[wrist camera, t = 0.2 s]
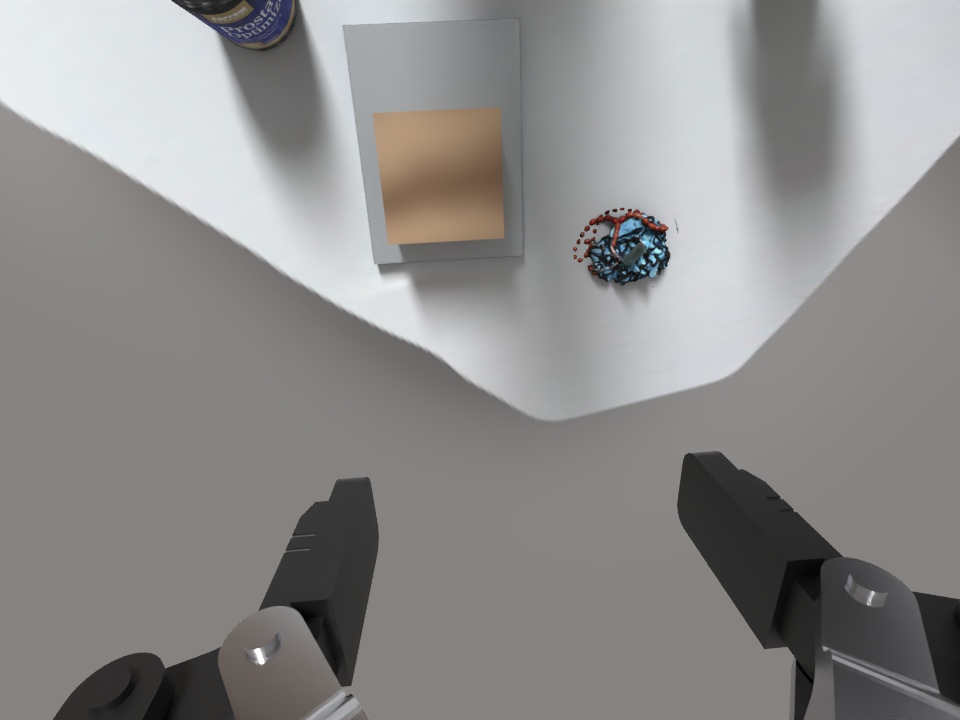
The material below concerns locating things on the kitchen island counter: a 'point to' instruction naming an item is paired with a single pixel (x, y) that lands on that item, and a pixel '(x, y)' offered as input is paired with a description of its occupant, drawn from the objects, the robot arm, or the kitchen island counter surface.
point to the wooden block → (441, 174)
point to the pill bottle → (246, 20)
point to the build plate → (438, 86)
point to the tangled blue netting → (628, 248)
